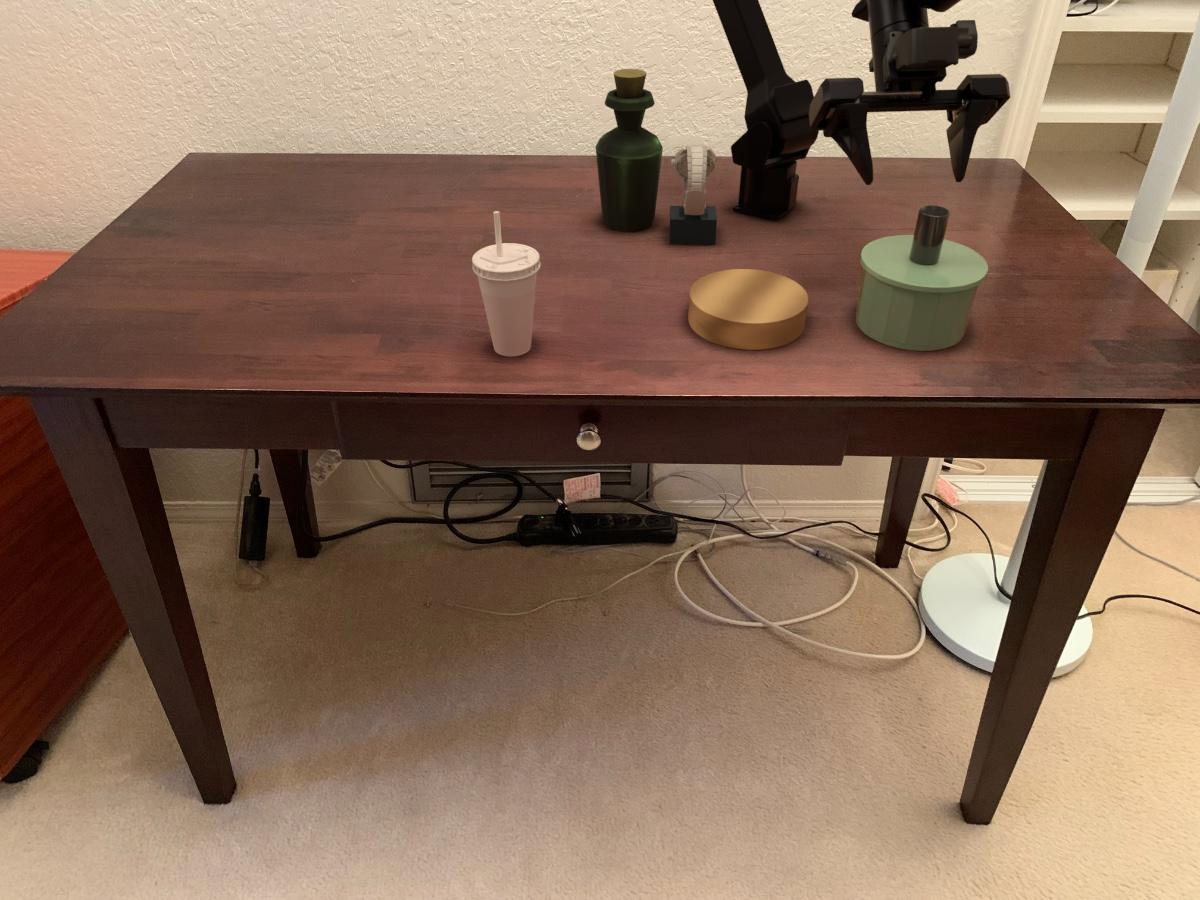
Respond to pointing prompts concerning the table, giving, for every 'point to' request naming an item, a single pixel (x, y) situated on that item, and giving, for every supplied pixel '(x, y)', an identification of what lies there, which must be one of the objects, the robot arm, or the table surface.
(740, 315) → the disc
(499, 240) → the smoothie
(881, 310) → the green round open container
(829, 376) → the table surface
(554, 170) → the table surface
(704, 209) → the watch
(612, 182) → the potion bottle
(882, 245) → the lid
